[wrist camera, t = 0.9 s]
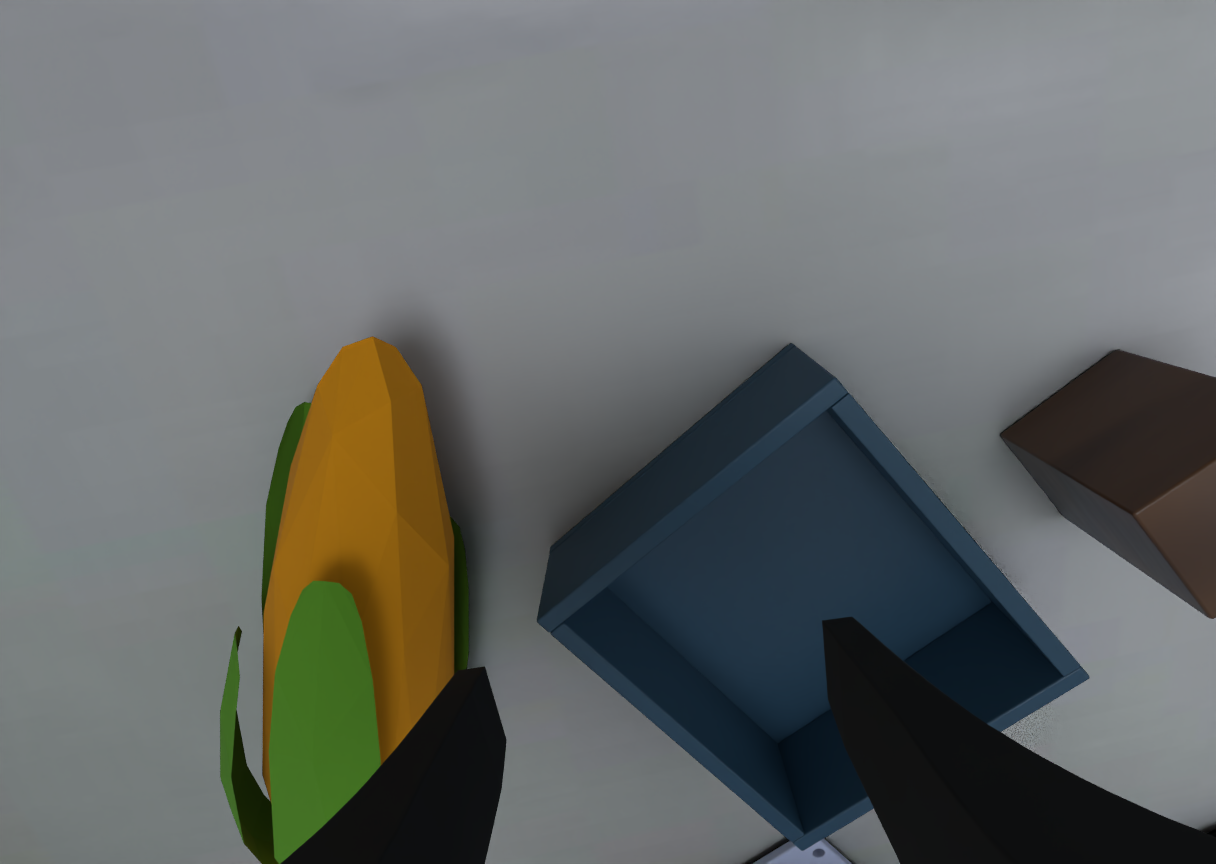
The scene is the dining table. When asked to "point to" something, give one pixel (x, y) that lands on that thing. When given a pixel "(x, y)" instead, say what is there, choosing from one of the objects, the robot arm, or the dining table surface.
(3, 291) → the dining table surface
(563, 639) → the bin
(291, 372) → the dining table surface
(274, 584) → the corn
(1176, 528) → the block
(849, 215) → the dining table surface
